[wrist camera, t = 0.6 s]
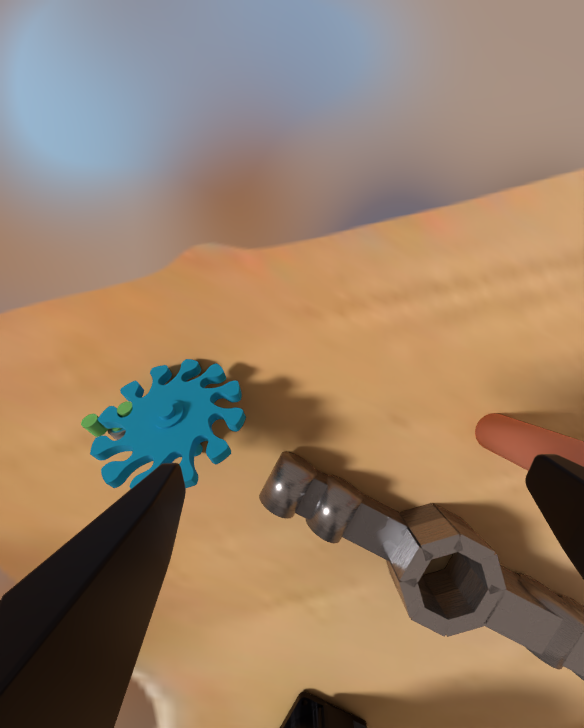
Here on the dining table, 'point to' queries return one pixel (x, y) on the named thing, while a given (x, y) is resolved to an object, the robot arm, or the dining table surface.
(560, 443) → the pin
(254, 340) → the dining table surface
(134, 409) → the gear
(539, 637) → the grey jointed bar
